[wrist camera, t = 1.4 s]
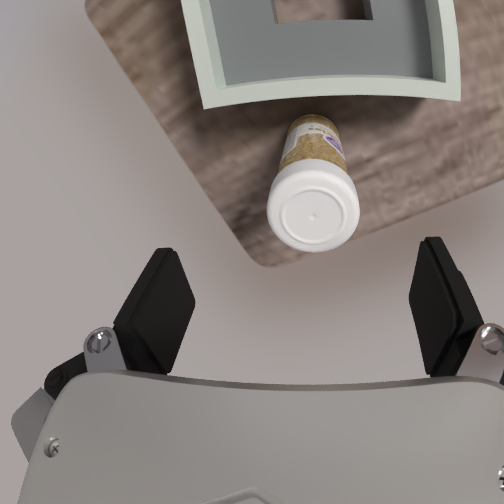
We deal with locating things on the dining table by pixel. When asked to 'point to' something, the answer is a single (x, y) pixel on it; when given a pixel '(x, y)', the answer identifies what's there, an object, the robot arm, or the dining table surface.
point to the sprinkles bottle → (313, 189)
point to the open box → (323, 51)
